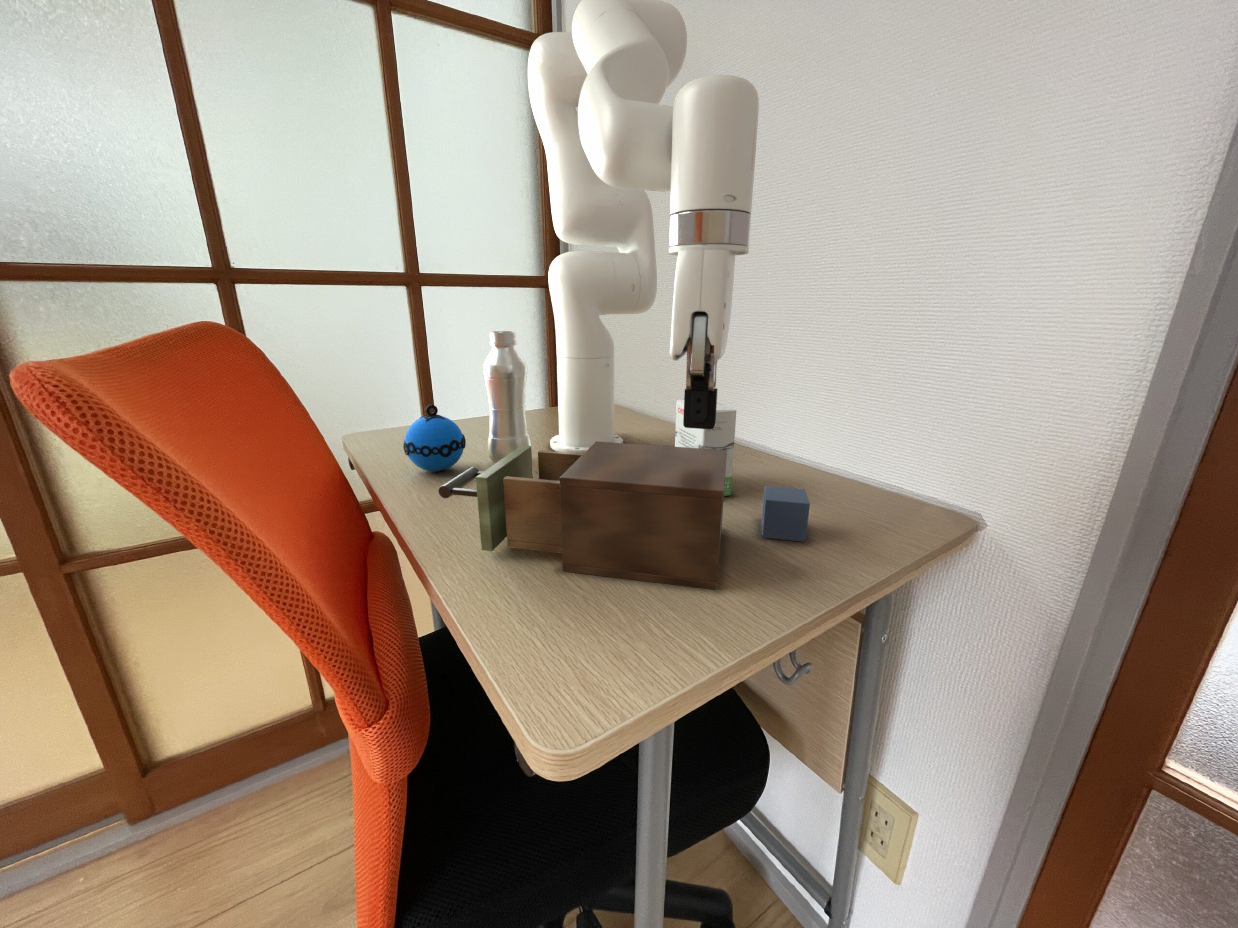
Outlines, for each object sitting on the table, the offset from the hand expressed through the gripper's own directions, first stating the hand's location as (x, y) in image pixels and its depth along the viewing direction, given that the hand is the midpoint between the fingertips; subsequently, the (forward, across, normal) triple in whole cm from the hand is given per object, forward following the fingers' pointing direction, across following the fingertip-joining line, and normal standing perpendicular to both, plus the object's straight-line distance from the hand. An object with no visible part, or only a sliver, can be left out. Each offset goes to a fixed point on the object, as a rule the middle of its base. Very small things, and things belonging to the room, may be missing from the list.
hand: (699, 426), depth 55 cm
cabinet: (+12, +5, -4) cm, 14 cm away
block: (+12, -3, +10) cm, 16 cm away
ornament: (+12, -12, -40) cm, 43 cm away
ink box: (+12, -15, -1) cm, 19 cm away
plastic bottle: (+12, -18, -31) cm, 38 cm away
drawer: (+11, +6, -16) cm, 21 cm away
